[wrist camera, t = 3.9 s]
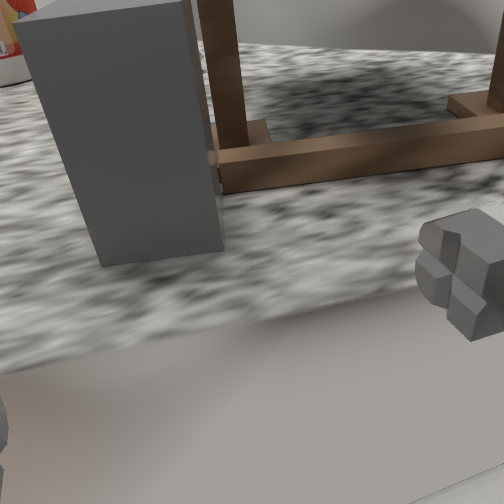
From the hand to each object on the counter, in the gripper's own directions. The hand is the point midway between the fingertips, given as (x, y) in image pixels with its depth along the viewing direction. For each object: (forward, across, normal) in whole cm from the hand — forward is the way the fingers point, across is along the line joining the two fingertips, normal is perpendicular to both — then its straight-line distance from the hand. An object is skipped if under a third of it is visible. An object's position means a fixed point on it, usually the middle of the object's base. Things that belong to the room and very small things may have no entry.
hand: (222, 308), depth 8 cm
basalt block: (+12, 0, +5) cm, 13 cm away
